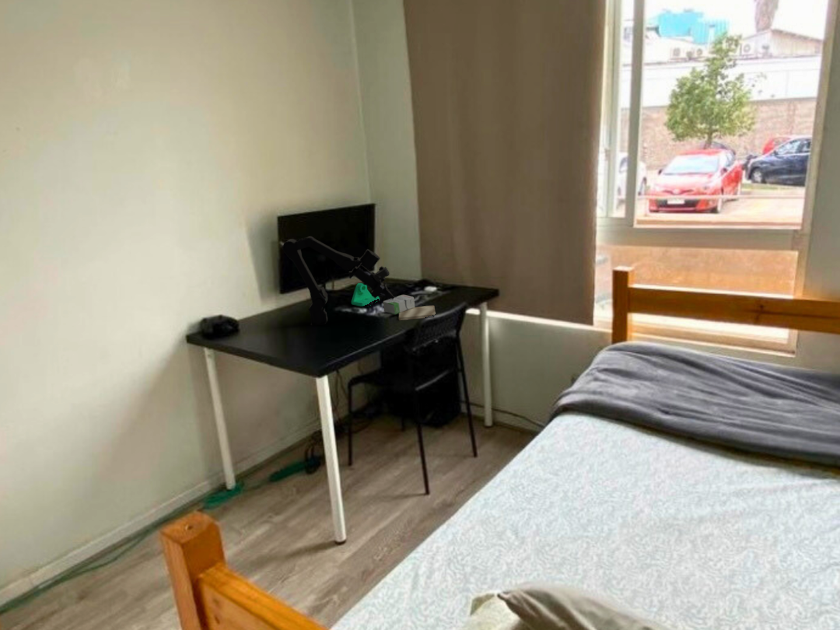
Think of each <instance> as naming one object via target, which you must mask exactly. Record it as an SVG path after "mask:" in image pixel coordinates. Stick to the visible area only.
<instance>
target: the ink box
mask: <svg viewBox="0 0 840 630" xmlns="http://www.w3.org/2000/svg"><path fill="white" fill-rule="evenodd" d="M415 303H416V302H415V298H414V296H410V295H406V294H401V295H398V296H394V299H390V298H388V299H386V300H383V302H382V305H383V311H384V312H385V313H388V314H391V315H399V313H400V312H403V311H406V310H408V309H411V308H413V307H416V305H415Z"/></svg>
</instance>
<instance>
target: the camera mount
mask: <svg viewBox="0 0 840 630" xmlns="http://www.w3.org/2000/svg"><path fill="white" fill-rule="evenodd" d="M377 299H379V300H380V296H377V297H376V298H374V297H373V296H372V294H371V292H370V291H369V290H368V286H367V285H364V284H363V282H358V283H357V284H356V286H355V288H354V291H353V295H352V299H351V301H350V303H351V305H354V306H357V307H364V306H365V305H367V304H369V303H370V302H372V301H374V300H377Z"/></svg>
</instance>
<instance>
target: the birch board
mask: <svg viewBox="0 0 840 630" xmlns="http://www.w3.org/2000/svg"><path fill="white" fill-rule="evenodd" d="M435 314H436V309H435V305H425V306H415V307H413V308H411V309H408V310H406V311H403V312H400V313H398V320H399V321H407V320H416V319H425V317H428V316H432V315H435Z"/></svg>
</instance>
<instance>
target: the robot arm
mask: <svg viewBox="0 0 840 630" xmlns="http://www.w3.org/2000/svg"><path fill="white" fill-rule="evenodd" d="M305 248H311V249H312V250H314V251H316V252H318V254H321V255H323V256H325V257H327V258H329V259H330V260H332V261H334V263H335V264H336V265H338V266H339V267H340V268H341V269H343V270H344V271H348V276H349V279H350V280H351V279H352V278H353V277H355V278H356V279H357V280H359V281H360V282H361V283H363V284H364V285H367V288H369V289H370V291H371V292H370V294H371V295H372V296H373V297H374V298H376V297H383V298H385V299H386V298H387V299H394V298H395V296H394V295H393V294H392V292H391V291H390V289H388V287H387V282H386V277H388V276H390V271H389V270H388V268H387V267H386V266H385V267H384V266H383V265H381V266H380V267H379V268H378V271H376V272H374V271H370V270H369V269H373V268H374V267H375V266H376V265H377V263H378V262H379V261H380V260H381V257H380V256H379V255H378V254H376V252H374V251H372V250H370V249H366V250H365V251H364V254H363V255H362V256H361V257H359V256H358V257H356V256H355V257H354V255H353V256H352V255H351V254H349V253H346V252H341V251H338V250H336V249H334V248H332V247H330V246H329V245H327V244H325V243H323V242H322V241H320V240H317V239H316V238H315V237H313V236H312V235H310V236H307V237H303V238H298V239H294V238H290V239H288V240H287V241H285V242H284V243H283V245H282V251H283V252H284V254H285V255H286V257H287V258H288V259H289V260H291V261H292V262H293V264H294V266H295V267H296V269H297V271H298V273H299V275H300V277H301V278H302V280H303V281H304V283H305V286H306V287H307V289H308V292H309V295H310V296H309V297H310V300H311V304H310V306H309V307H308V310H309V311H308V312H309V317H310V320H311V322H310V326H311V327H312V326H321V325H323V326H324V325H326V324H327V323H328V319H329V318H328V314H327V311H326V308H325V306H326V304H327V302H328V299H329V298H328V295H329V294H328V293H327V291H326V289H325V287H324V286H322V287H320V286H319V285H318V283H317V281H316V280H315V278H314V276H313V274H312V272H311V270H310V269H309V267H308V265H307V263H306V262H305V260H304V258H303V254H302V250H303V249H305Z"/></svg>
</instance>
